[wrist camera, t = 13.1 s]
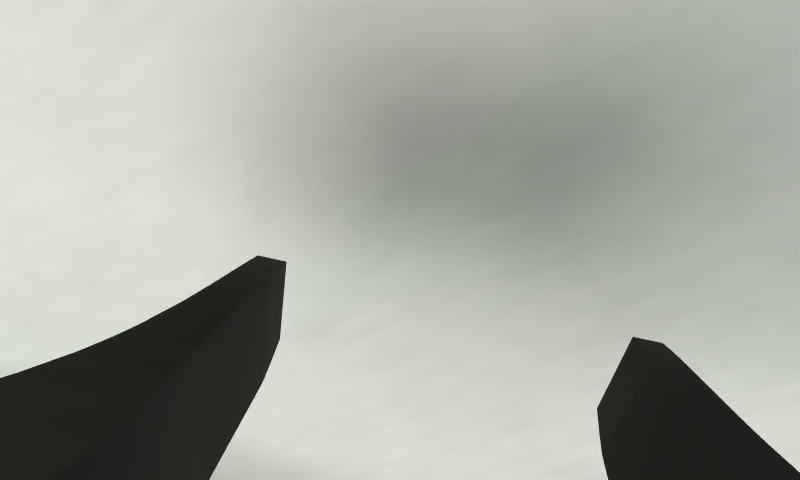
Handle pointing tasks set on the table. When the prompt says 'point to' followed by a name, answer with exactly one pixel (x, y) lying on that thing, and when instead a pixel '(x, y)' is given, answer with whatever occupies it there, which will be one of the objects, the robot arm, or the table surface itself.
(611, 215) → the table surface
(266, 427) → the table surface
